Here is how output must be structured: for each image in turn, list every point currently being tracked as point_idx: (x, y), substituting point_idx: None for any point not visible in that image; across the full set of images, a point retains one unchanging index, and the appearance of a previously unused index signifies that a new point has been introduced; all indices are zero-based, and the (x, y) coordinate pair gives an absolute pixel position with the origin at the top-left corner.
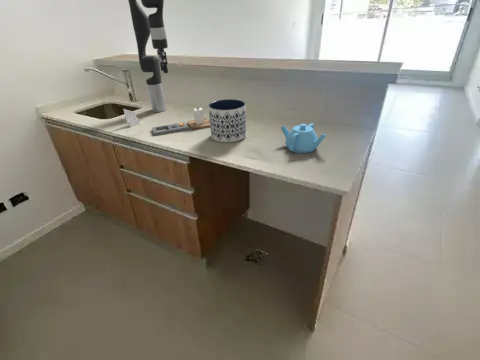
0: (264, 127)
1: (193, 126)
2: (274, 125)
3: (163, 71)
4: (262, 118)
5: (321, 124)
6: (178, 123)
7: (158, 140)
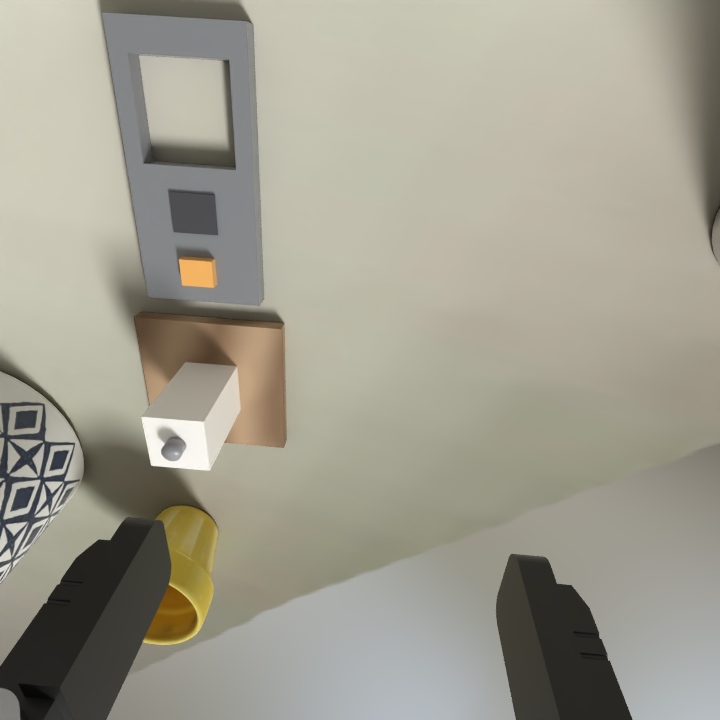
0: None
1: (161, 333)
2: None
3: (141, 539)
4: None
5: None
6: (252, 262)
7: (3, 28)
